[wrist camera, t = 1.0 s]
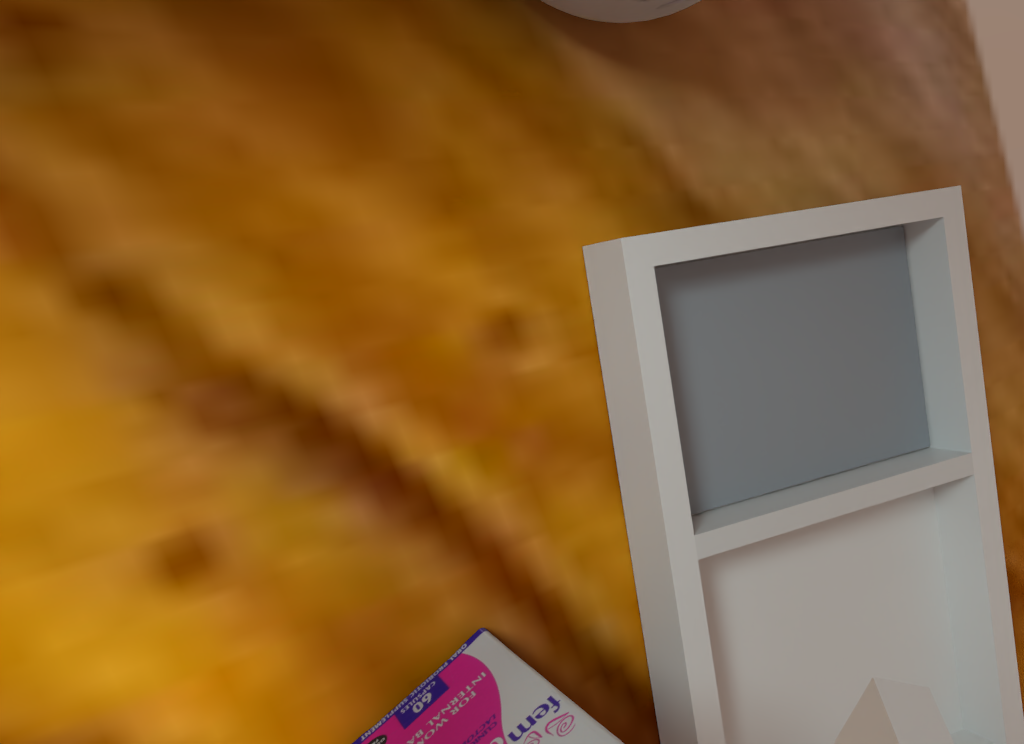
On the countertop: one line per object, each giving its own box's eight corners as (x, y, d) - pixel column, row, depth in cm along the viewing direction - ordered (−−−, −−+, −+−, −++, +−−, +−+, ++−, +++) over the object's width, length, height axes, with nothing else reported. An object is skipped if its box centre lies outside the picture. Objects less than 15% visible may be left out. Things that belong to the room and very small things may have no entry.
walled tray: (582, 246, 31) (620, 238, 29) (905, 196, 36) (960, 185, 34) (680, 870, 33) (723, 911, 31) (972, 738, 38) (1029, 764, 36)
